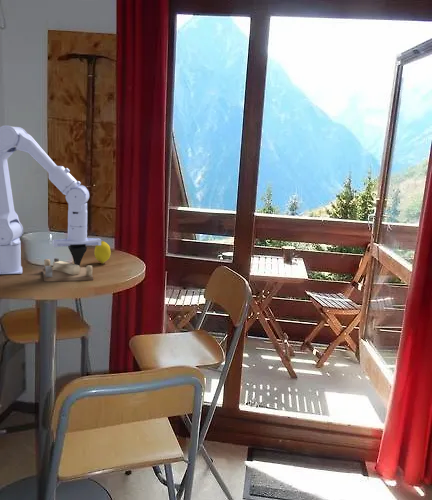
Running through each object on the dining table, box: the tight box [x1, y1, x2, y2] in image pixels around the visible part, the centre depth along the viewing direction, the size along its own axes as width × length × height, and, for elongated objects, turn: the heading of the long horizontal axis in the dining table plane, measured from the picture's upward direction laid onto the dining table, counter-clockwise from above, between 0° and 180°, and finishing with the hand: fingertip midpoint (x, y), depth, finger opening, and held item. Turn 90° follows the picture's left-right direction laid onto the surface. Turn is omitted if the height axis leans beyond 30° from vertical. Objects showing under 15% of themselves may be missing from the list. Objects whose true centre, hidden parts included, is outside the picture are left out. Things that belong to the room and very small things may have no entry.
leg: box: [52, 257, 81, 275], centre depth 151 cm, size 10×2×3 cm, turn 59°
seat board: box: [42, 258, 94, 283], centre depth 151 cm, size 14×12×4 cm
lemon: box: [93, 240, 112, 264], centre depth 169 cm, size 6×6×8 cm
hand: (76, 268), depth 152 cm, fingers closed
